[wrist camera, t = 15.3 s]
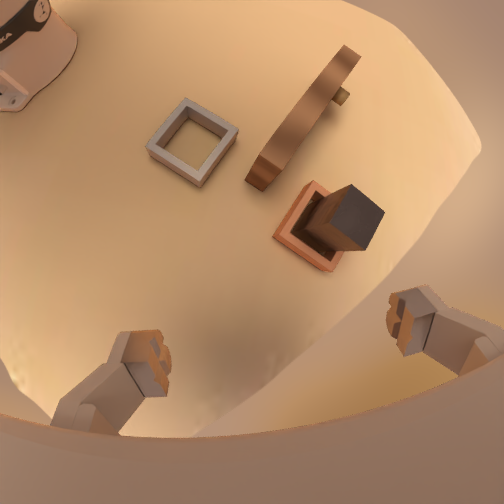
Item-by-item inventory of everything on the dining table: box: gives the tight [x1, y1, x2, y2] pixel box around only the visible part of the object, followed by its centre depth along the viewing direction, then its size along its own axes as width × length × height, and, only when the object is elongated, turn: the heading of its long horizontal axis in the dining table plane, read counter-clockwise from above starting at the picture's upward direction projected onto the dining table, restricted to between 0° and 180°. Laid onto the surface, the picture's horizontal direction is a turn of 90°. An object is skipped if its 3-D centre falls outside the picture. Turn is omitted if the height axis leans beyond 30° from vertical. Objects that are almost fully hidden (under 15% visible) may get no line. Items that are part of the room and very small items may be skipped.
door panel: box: [245, 45, 361, 191], centre depth 30 cm, size 18×4×9 cm, turn 147°
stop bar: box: [291, 184, 385, 252], centre depth 29 cm, size 4×4×11 cm
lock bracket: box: [273, 180, 344, 272], centre depth 33 cm, size 7×7×3 cm
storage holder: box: [145, 98, 239, 187], centre depth 31 cm, size 7×7×3 cm
